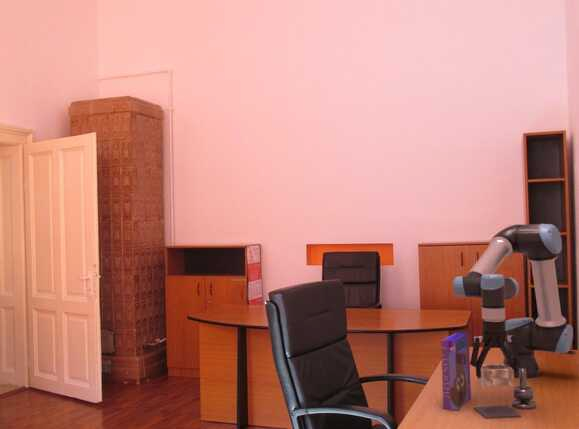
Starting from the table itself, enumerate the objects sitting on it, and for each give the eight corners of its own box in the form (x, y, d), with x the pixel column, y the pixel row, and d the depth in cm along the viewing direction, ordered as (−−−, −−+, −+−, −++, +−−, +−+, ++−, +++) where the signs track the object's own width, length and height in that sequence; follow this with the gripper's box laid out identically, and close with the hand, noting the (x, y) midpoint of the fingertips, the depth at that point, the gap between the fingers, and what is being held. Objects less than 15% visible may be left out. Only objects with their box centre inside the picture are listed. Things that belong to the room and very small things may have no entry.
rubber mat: (507, 407, 211) (507, 405, 211) (520, 417, 200) (520, 415, 200) (473, 408, 211) (473, 406, 211) (485, 418, 200) (485, 416, 200)
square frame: (503, 378, 210) (502, 363, 211) (514, 384, 201) (513, 369, 202) (477, 379, 210) (477, 364, 210) (487, 385, 201) (487, 370, 201)
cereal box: (456, 411, 209) (454, 341, 209) (443, 409, 211) (441, 340, 212) (470, 398, 223) (468, 332, 224) (458, 396, 226) (455, 331, 226)
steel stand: (529, 402, 216) (528, 365, 217) (540, 408, 208) (538, 370, 209) (507, 403, 216) (506, 366, 216) (517, 409, 208) (516, 371, 208)
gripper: (520, 317, 210) (522, 382, 210) (458, 319, 209) (460, 384, 209) (529, 320, 203) (531, 388, 202) (465, 322, 202) (467, 390, 201)
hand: (495, 386), depth 206 cm, fingers closed on square frame, 9 cm apart
